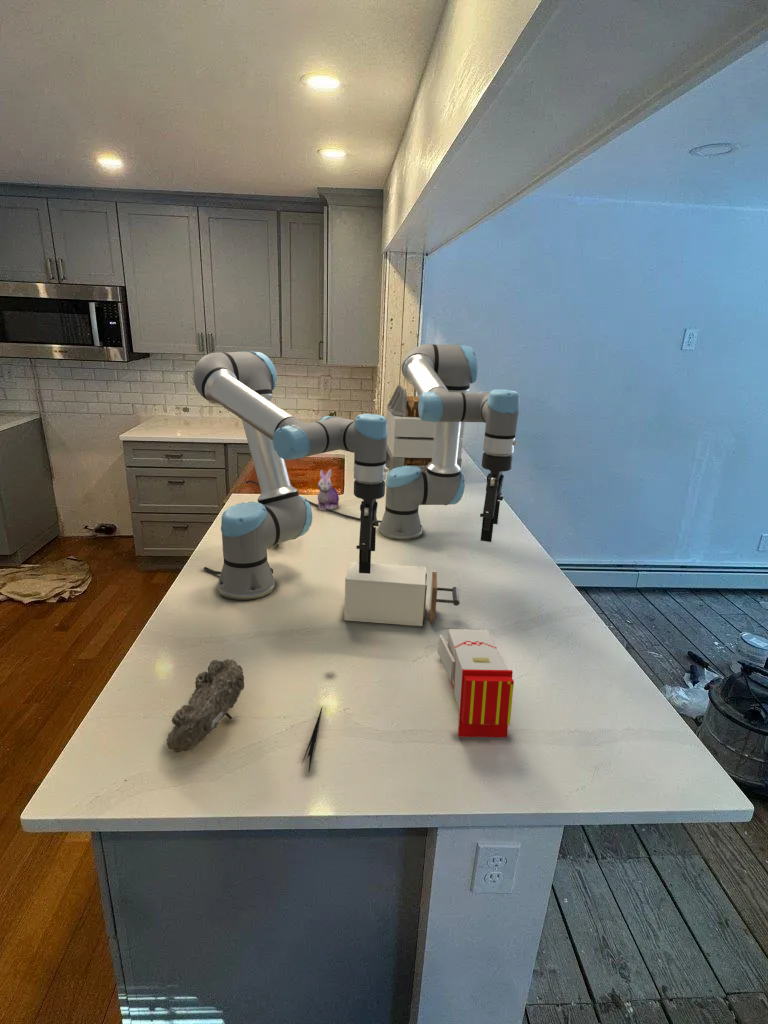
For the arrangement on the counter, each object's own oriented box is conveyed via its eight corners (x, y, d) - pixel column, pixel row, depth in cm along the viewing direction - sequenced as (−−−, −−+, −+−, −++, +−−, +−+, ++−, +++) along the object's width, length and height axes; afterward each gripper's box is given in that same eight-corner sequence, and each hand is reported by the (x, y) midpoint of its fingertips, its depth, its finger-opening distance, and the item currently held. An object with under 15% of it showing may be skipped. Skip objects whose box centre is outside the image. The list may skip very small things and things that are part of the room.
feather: (331, 679, 122) (336, 673, 122) (307, 777, 96) (313, 769, 95) (324, 675, 122) (329, 669, 121) (298, 772, 95) (304, 764, 95)
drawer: (456, 606, 151) (459, 573, 147) (457, 624, 142) (461, 589, 139) (364, 600, 152) (365, 567, 148) (361, 617, 143) (362, 582, 140)
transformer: (382, 463, 289) (386, 382, 275) (445, 464, 293) (451, 384, 279) (390, 482, 257) (394, 392, 243) (460, 483, 261) (468, 394, 247)
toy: (488, 613, 130) (523, 677, 101) (484, 667, 133) (517, 744, 104) (435, 612, 130) (455, 676, 101) (432, 666, 133) (451, 743, 103)
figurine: (321, 512, 217) (321, 474, 212) (311, 504, 225) (311, 467, 220) (344, 509, 221) (344, 472, 216) (333, 501, 229) (334, 465, 224)
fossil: (192, 660, 117) (244, 628, 112) (224, 691, 120) (276, 661, 115) (142, 746, 98) (202, 712, 93) (182, 779, 101) (242, 748, 96)
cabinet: (422, 606, 152) (425, 567, 148) (422, 626, 142) (425, 584, 138) (349, 601, 153) (350, 561, 149) (344, 620, 143) (345, 578, 139)
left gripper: (381, 496, 124) (378, 584, 131) (388, 467, 147) (385, 543, 154) (347, 494, 124) (346, 582, 131) (359, 466, 148) (358, 541, 155)
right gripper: (508, 466, 130) (498, 551, 137) (517, 444, 152) (508, 518, 159) (475, 462, 132) (467, 546, 139) (489, 441, 154) (481, 515, 161)
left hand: (367, 561), depth 143 cm, fingers open, 13 cm apart
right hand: (489, 532), depth 149 cm, fingers open, 13 cm apart
